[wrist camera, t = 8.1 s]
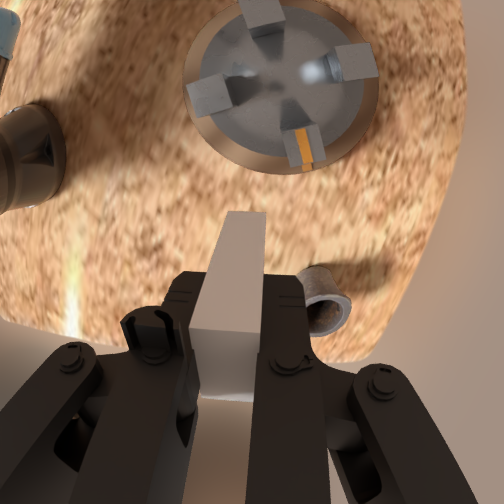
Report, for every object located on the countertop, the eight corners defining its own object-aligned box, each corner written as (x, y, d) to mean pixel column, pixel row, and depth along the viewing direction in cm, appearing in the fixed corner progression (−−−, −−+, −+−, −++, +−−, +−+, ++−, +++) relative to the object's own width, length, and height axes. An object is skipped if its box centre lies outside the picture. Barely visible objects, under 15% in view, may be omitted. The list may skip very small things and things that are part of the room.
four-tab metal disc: (231, 168, 30) (219, 186, 24) (188, 38, 24) (164, 23, 18) (370, 136, 27) (395, 147, 21) (332, 3, 21) (347, -21, 15)
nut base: (153, 92, 29) (145, 92, 27) (275, -29, 21) (275, -37, 19) (283, 205, 34) (283, 212, 32) (406, 92, 26) (414, 92, 24)
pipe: (248, 299, 41) (242, 340, 34) (324, 246, 37) (334, 282, 30) (276, 324, 43) (275, 365, 36) (350, 277, 38) (363, 316, 31)
